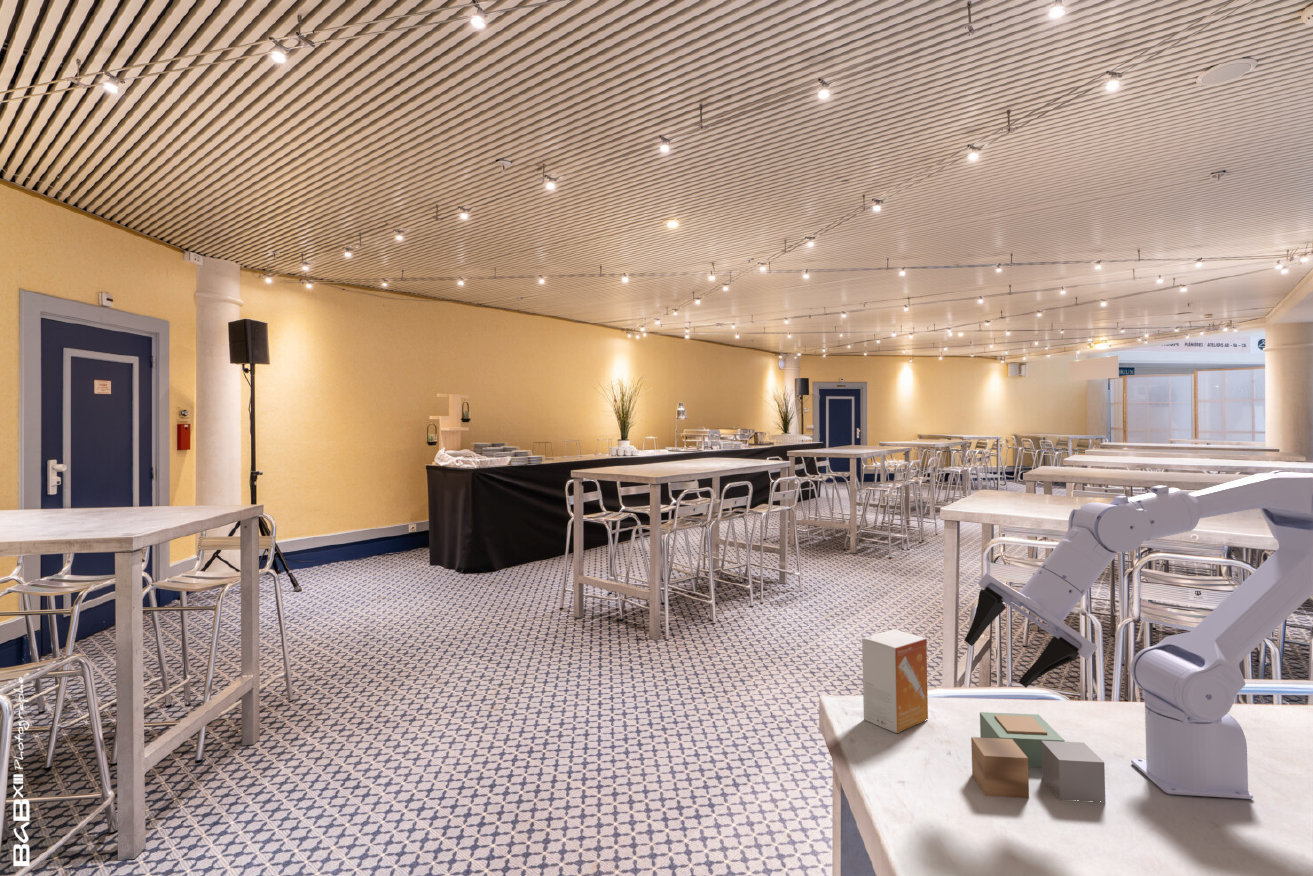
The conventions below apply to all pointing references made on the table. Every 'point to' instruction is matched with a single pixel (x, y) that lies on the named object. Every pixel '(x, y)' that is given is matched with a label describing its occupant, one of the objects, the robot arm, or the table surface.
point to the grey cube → (1073, 771)
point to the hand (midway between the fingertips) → (994, 663)
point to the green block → (1020, 732)
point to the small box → (895, 680)
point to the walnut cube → (1000, 767)
